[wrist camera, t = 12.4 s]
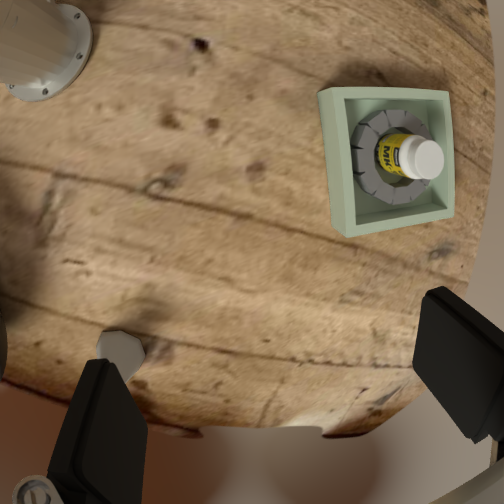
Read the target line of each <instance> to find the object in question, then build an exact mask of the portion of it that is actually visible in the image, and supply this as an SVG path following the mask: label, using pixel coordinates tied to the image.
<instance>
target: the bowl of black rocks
mask: <svg viewBox="0 0 504 504" xmlns="http://www.w3.org/2000/svg"><path fill="white" fill-rule="evenodd" d="M7 348H8V345H7V333H6V327H5V322H4V319H3V316H2V313H1V310H0V381H1V379H2V377H3V374H4V370H5V366H6V360H7Z"/></svg>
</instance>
